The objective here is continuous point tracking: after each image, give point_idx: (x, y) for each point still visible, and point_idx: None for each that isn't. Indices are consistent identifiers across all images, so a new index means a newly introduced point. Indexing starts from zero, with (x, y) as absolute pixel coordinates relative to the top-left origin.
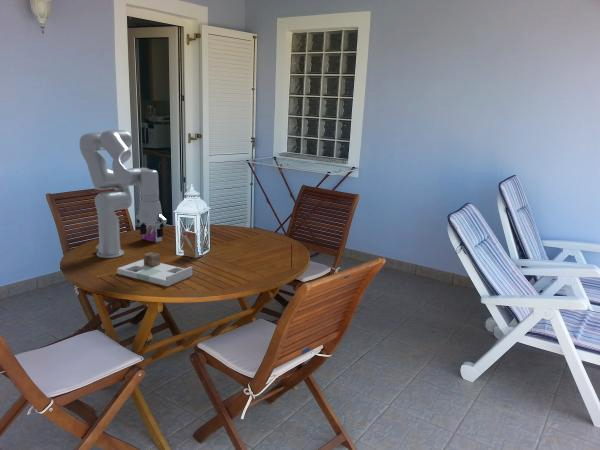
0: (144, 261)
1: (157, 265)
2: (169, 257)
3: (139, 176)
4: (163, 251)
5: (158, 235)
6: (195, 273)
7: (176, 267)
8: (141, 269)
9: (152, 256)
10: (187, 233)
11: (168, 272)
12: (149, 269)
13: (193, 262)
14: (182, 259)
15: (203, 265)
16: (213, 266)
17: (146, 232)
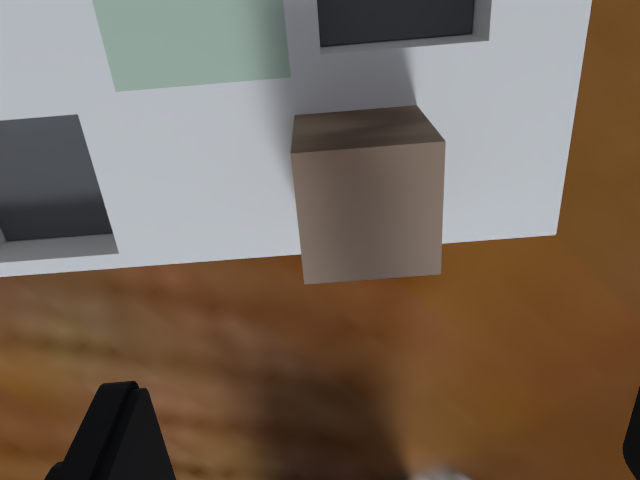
0: (415, 117)
1: None
2: (466, 423)
3: None
4: (596, 476)
5: (90, 436)
6: (12, 304)
7: (114, 253)
8: (396, 44)
9: (291, 163)
10: None
11: (29, 103)
12: (258, 42)
13: (240, 443)
14: (353, 443)
15: None
16: None
17: (633, 470)
